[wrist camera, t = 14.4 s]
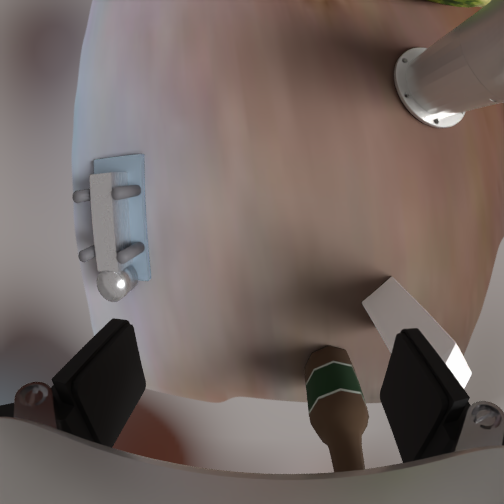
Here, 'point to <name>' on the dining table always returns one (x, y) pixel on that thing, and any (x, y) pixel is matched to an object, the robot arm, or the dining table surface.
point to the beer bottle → (337, 406)
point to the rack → (136, 210)
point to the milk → (412, 325)
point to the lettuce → (463, 2)
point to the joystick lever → (111, 235)
